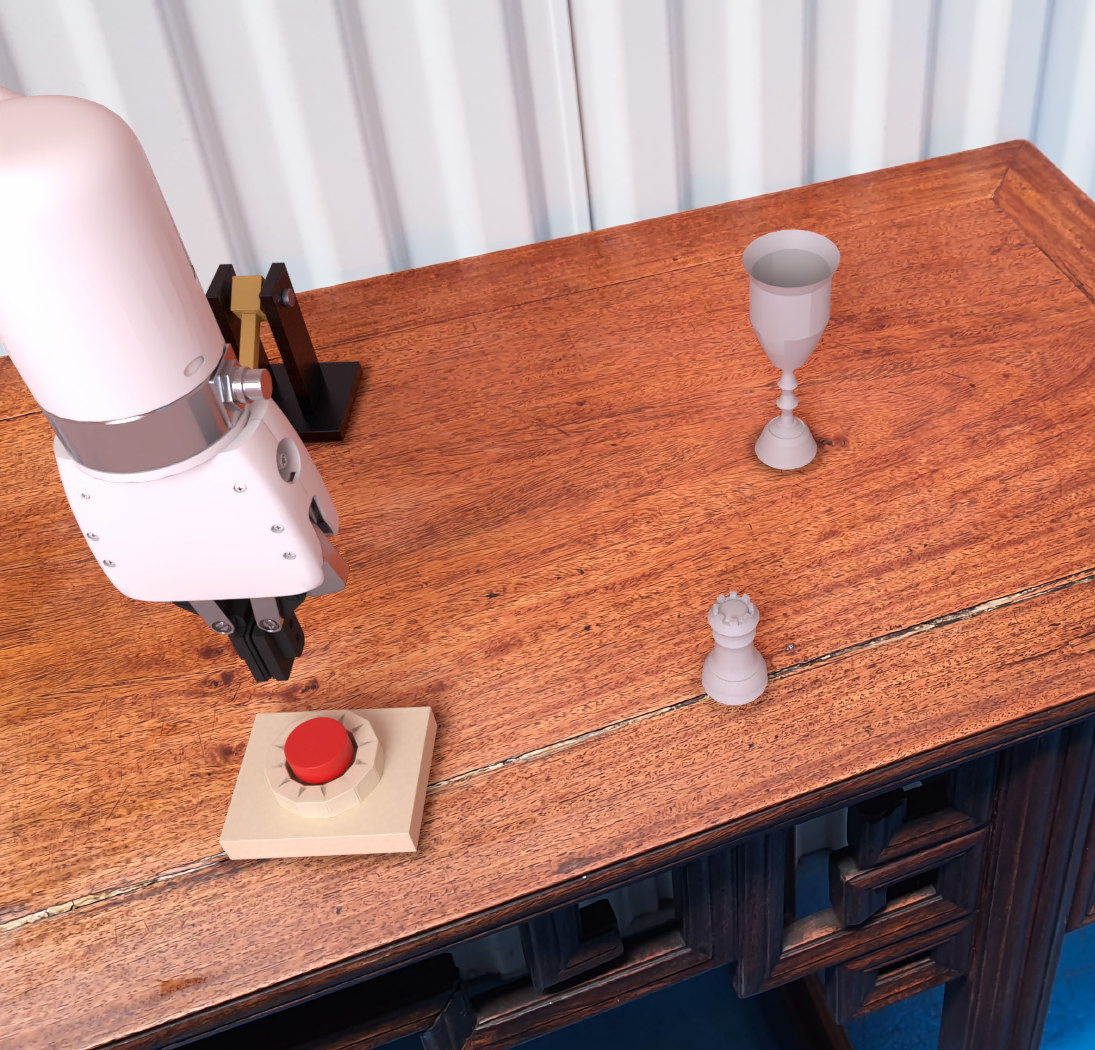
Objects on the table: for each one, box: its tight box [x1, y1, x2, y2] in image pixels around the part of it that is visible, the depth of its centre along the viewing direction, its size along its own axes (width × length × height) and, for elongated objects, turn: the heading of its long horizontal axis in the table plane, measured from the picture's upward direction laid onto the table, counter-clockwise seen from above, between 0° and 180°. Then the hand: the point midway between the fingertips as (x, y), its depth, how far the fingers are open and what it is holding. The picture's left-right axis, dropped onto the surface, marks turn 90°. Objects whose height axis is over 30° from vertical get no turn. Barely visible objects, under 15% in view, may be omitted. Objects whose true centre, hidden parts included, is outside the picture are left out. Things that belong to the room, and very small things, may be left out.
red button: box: [284, 717, 354, 784], centre depth 69 cm, size 4×4×2 cm
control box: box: [218, 706, 438, 861], centre depth 71 cm, size 11×9×4 cm
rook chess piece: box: [701, 590, 769, 706], centre depth 75 cm, size 4×4×8 cm
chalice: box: [741, 229, 841, 471], centre depth 88 cm, size 7×7×18 cm
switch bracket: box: [205, 262, 364, 444], centre depth 93 cm, size 9×10×13 cm
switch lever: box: [231, 274, 268, 369], centre depth 89 cm, size 15×3×3 cm
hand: (279, 659), depth 63 cm, fingers closed
